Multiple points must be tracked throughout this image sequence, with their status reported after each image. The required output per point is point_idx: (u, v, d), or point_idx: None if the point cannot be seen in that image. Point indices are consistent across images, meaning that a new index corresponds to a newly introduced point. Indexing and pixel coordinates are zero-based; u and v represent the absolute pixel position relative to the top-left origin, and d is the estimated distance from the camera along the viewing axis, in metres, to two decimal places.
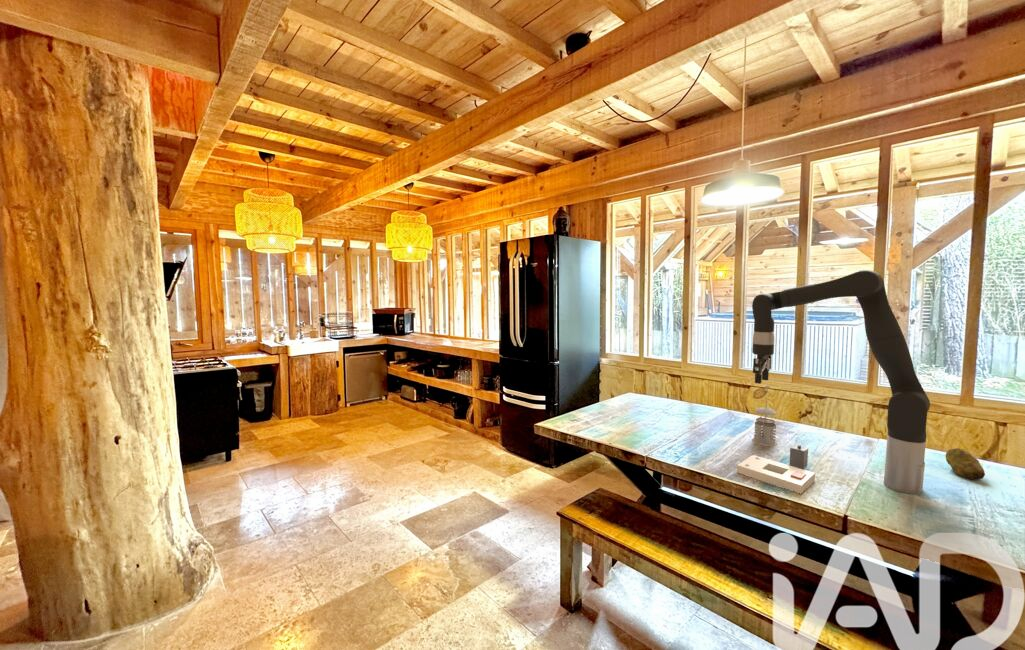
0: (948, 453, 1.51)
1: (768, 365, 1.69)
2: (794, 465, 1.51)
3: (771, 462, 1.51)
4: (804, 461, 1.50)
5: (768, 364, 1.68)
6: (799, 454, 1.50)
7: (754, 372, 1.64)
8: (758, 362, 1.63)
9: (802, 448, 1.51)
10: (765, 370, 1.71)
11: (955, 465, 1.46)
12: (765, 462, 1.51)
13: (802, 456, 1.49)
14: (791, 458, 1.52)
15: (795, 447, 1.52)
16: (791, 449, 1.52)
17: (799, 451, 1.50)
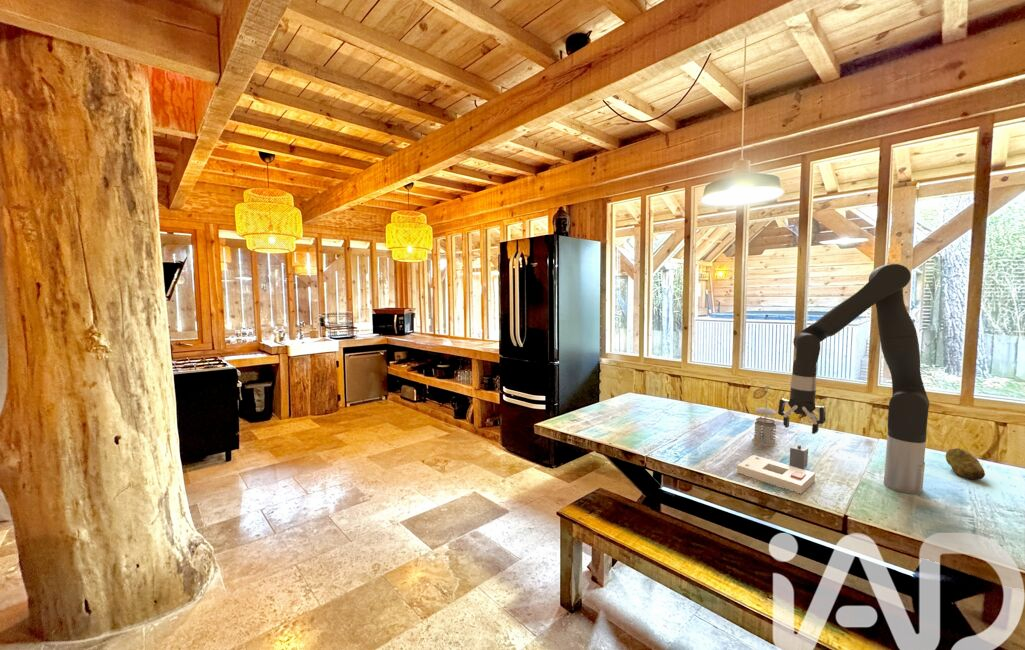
0: (948, 453, 1.51)
1: None
2: (794, 465, 1.51)
3: (771, 462, 1.51)
4: (804, 461, 1.50)
5: None
6: (799, 454, 1.50)
7: (823, 422, 1.45)
8: (825, 410, 1.45)
9: (802, 448, 1.51)
10: (788, 416, 1.54)
11: (955, 465, 1.46)
12: (765, 462, 1.51)
13: (802, 456, 1.49)
14: (791, 458, 1.52)
15: (795, 447, 1.52)
16: (791, 449, 1.52)
17: (799, 451, 1.50)
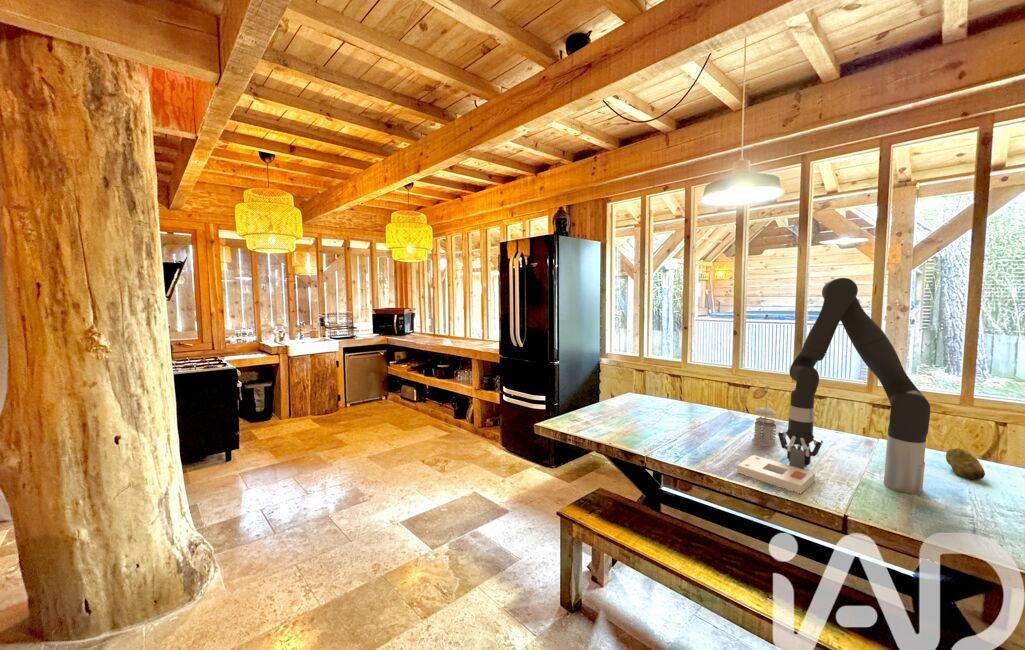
0: (948, 453, 1.51)
1: None
2: (794, 465, 1.51)
3: (771, 462, 1.51)
4: (804, 461, 1.50)
5: None
6: (799, 454, 1.50)
7: (815, 455, 1.47)
8: None
9: (802, 448, 1.51)
10: None
11: (955, 465, 1.46)
12: (765, 462, 1.51)
13: (802, 456, 1.49)
14: (791, 458, 1.52)
15: (795, 447, 1.52)
16: (791, 449, 1.52)
17: (799, 451, 1.50)
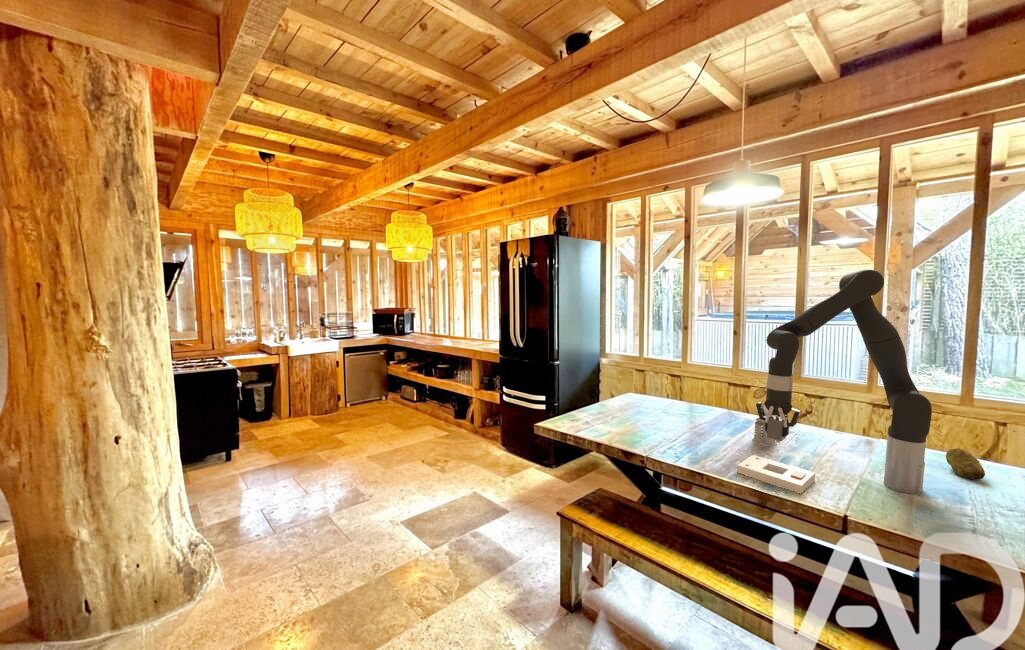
0: (948, 453, 1.51)
1: None
2: (772, 437, 1.44)
3: (771, 462, 1.51)
4: (782, 432, 1.42)
5: None
6: (777, 425, 1.43)
7: (793, 425, 1.40)
8: (799, 415, 1.40)
9: (780, 419, 1.44)
10: None
11: (955, 465, 1.46)
12: (765, 462, 1.51)
13: (780, 427, 1.42)
14: (769, 429, 1.45)
15: (773, 418, 1.45)
16: (769, 420, 1.45)
17: (777, 422, 1.43)
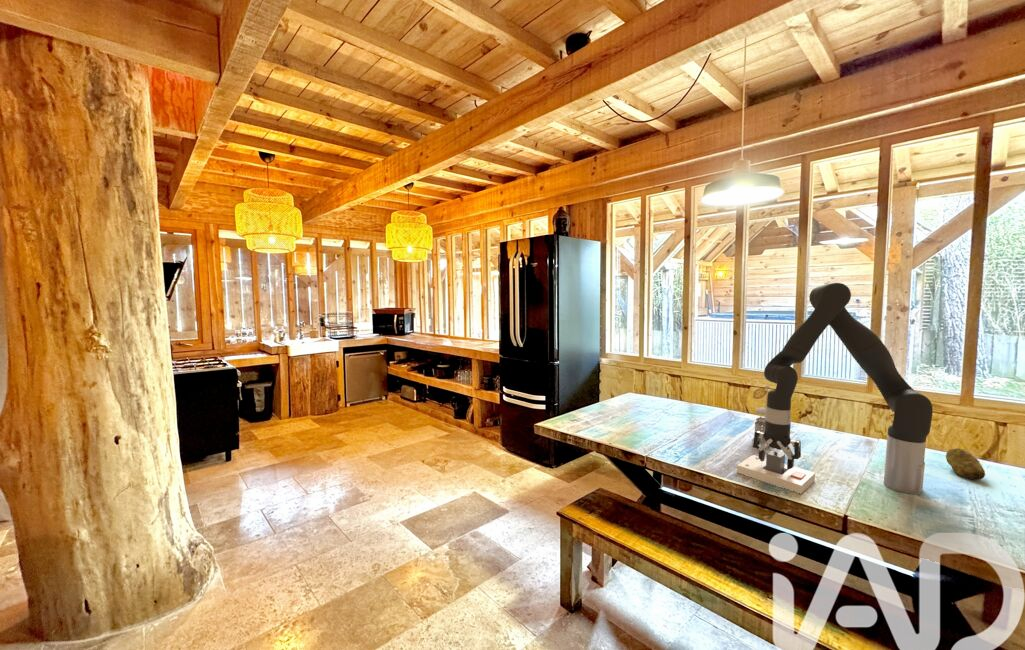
0: (948, 453, 1.50)
1: None
2: None
3: None
4: (781, 468, 1.43)
5: None
6: (775, 460, 1.44)
7: (798, 458, 1.39)
8: (800, 445, 1.40)
9: (779, 454, 1.45)
10: (763, 449, 1.48)
11: (955, 465, 1.46)
12: (765, 462, 1.51)
13: (778, 463, 1.43)
14: (767, 465, 1.46)
15: (771, 453, 1.46)
16: (767, 455, 1.45)
17: (775, 457, 1.43)
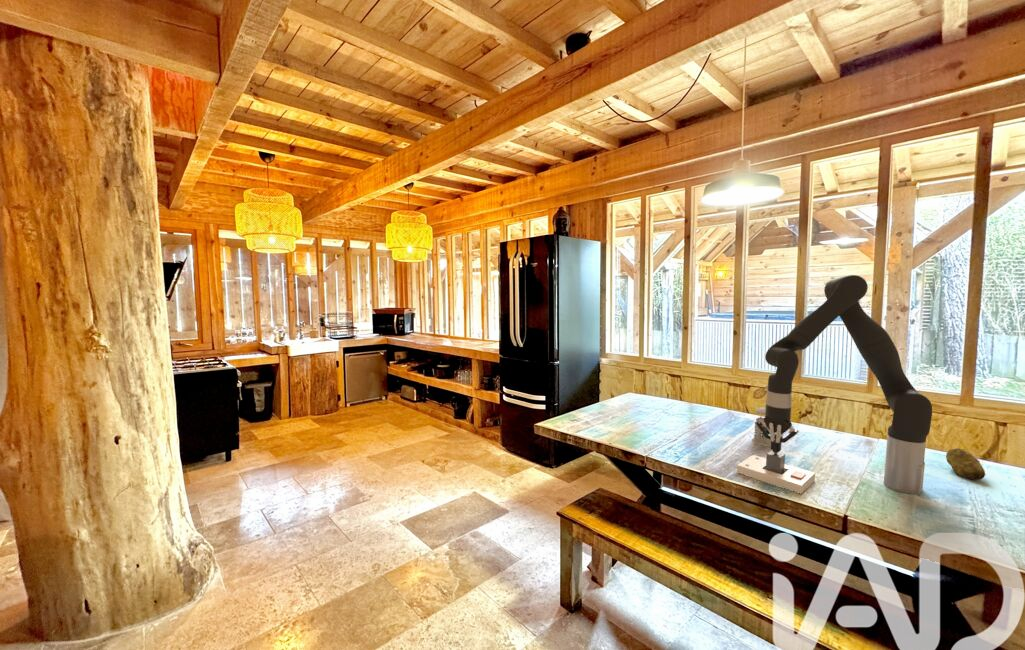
0: (949, 453, 1.50)
1: None
2: None
3: None
4: (780, 468, 1.43)
5: None
6: (775, 460, 1.44)
7: (785, 441, 1.42)
8: (795, 434, 1.41)
9: (779, 454, 1.45)
10: None
11: (955, 465, 1.46)
12: (765, 462, 1.51)
13: (778, 463, 1.43)
14: (767, 465, 1.46)
15: (771, 453, 1.46)
16: (767, 455, 1.45)
17: (775, 457, 1.43)
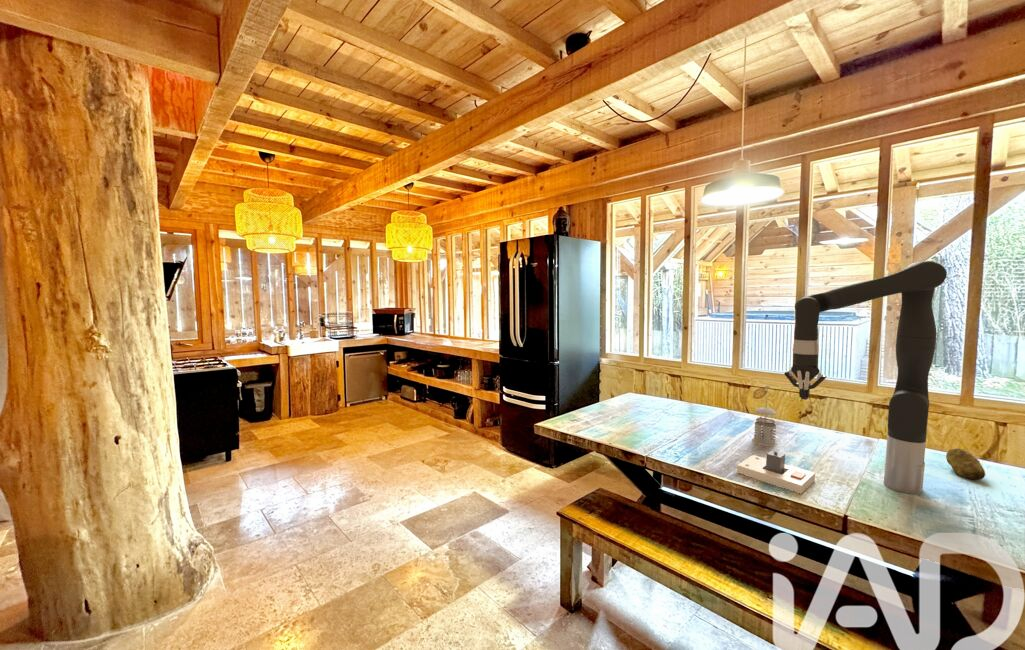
0: (949, 453, 1.50)
1: None
2: None
3: None
4: (781, 468, 1.43)
5: None
6: (775, 460, 1.44)
7: (814, 387, 1.47)
8: None
9: (779, 454, 1.45)
10: None
11: (956, 465, 1.46)
12: (765, 462, 1.51)
13: (778, 463, 1.43)
14: (767, 465, 1.46)
15: (771, 453, 1.46)
16: (767, 455, 1.45)
17: (775, 457, 1.43)
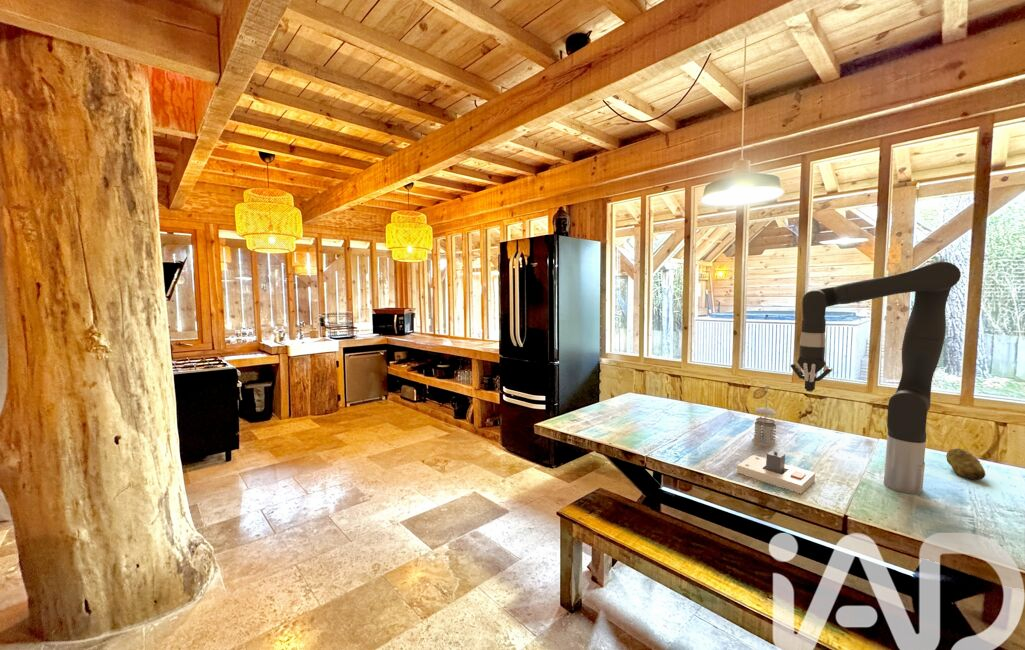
0: (949, 453, 1.50)
1: None
2: None
3: None
4: (781, 468, 1.43)
5: None
6: (775, 460, 1.44)
7: None
8: (829, 372, 1.47)
9: (779, 454, 1.45)
10: (809, 380, 1.51)
11: (956, 465, 1.46)
12: (765, 462, 1.51)
13: (778, 463, 1.43)
14: (767, 465, 1.46)
15: (771, 453, 1.46)
16: (767, 455, 1.45)
17: (775, 457, 1.43)
